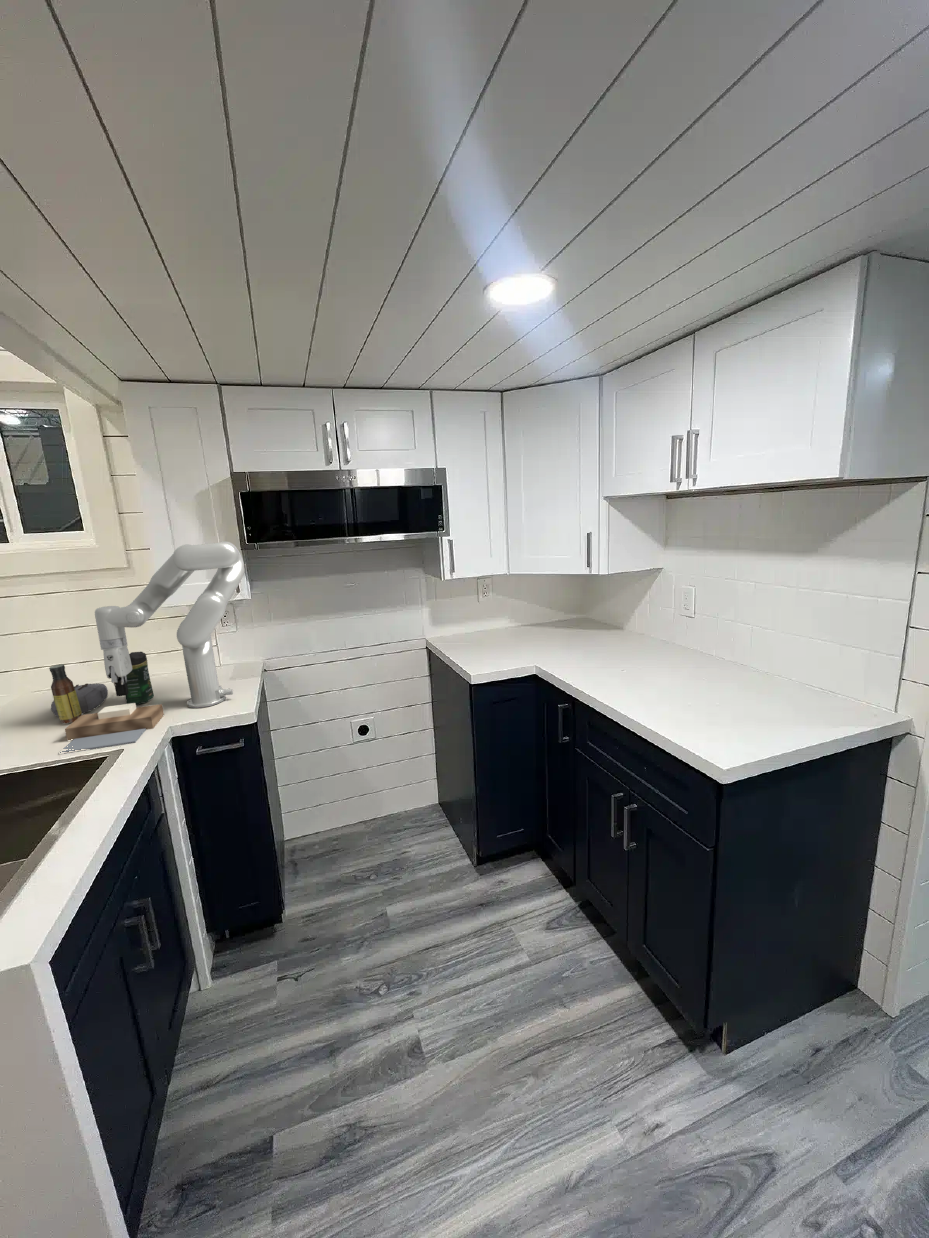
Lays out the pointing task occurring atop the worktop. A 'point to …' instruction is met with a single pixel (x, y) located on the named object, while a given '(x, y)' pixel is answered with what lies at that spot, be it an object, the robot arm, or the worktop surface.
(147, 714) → the walnut board
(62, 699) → the sauce bottle
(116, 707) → the cream tile
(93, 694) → the small grey backpack
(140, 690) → the coffee jar
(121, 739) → the grey mat
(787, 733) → the worktop surface
